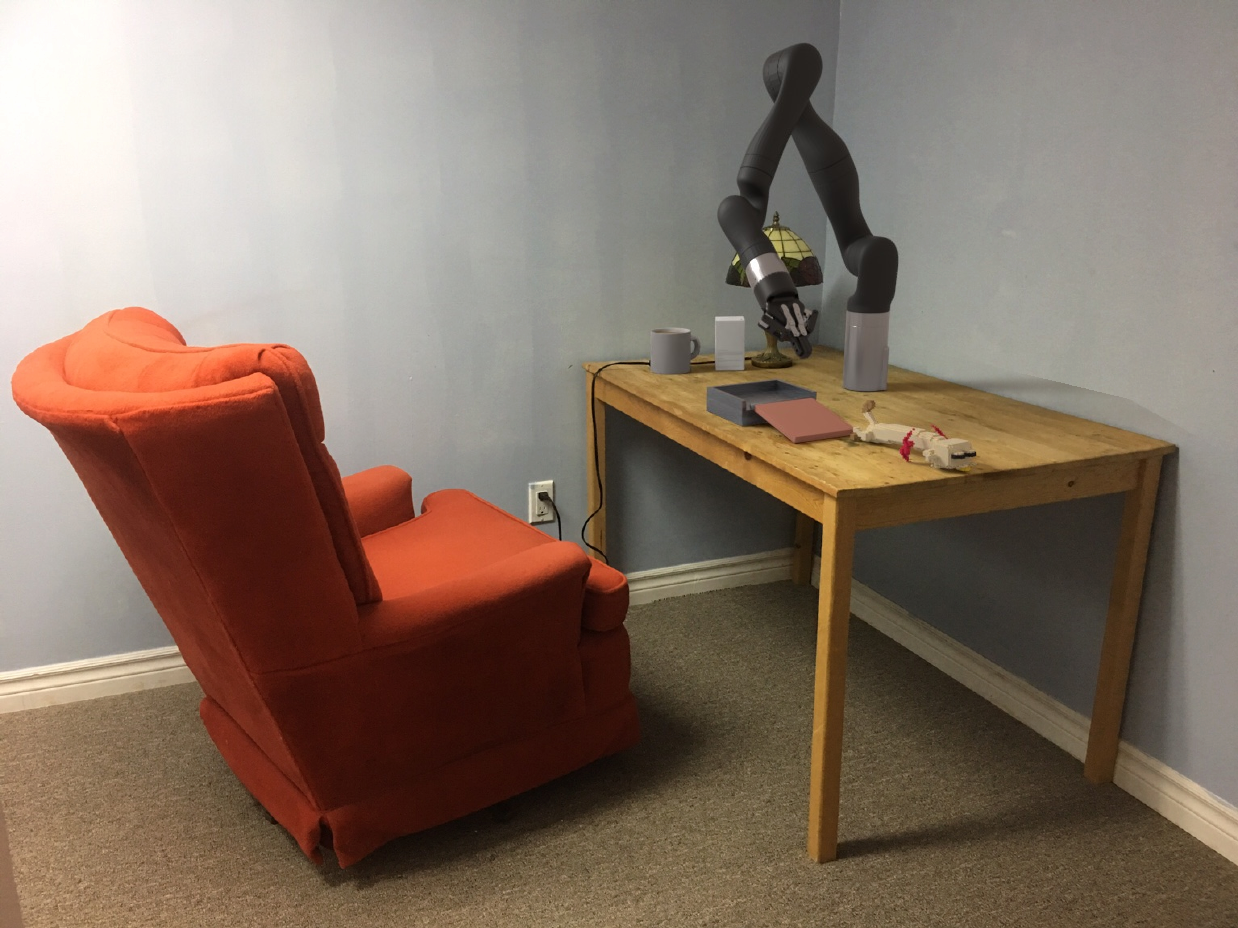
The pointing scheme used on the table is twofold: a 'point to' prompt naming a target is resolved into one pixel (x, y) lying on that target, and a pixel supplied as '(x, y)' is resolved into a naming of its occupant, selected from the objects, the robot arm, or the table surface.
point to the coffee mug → (672, 350)
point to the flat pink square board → (802, 419)
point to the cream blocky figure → (917, 442)
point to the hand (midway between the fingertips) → (806, 356)
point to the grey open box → (750, 399)
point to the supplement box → (729, 343)
